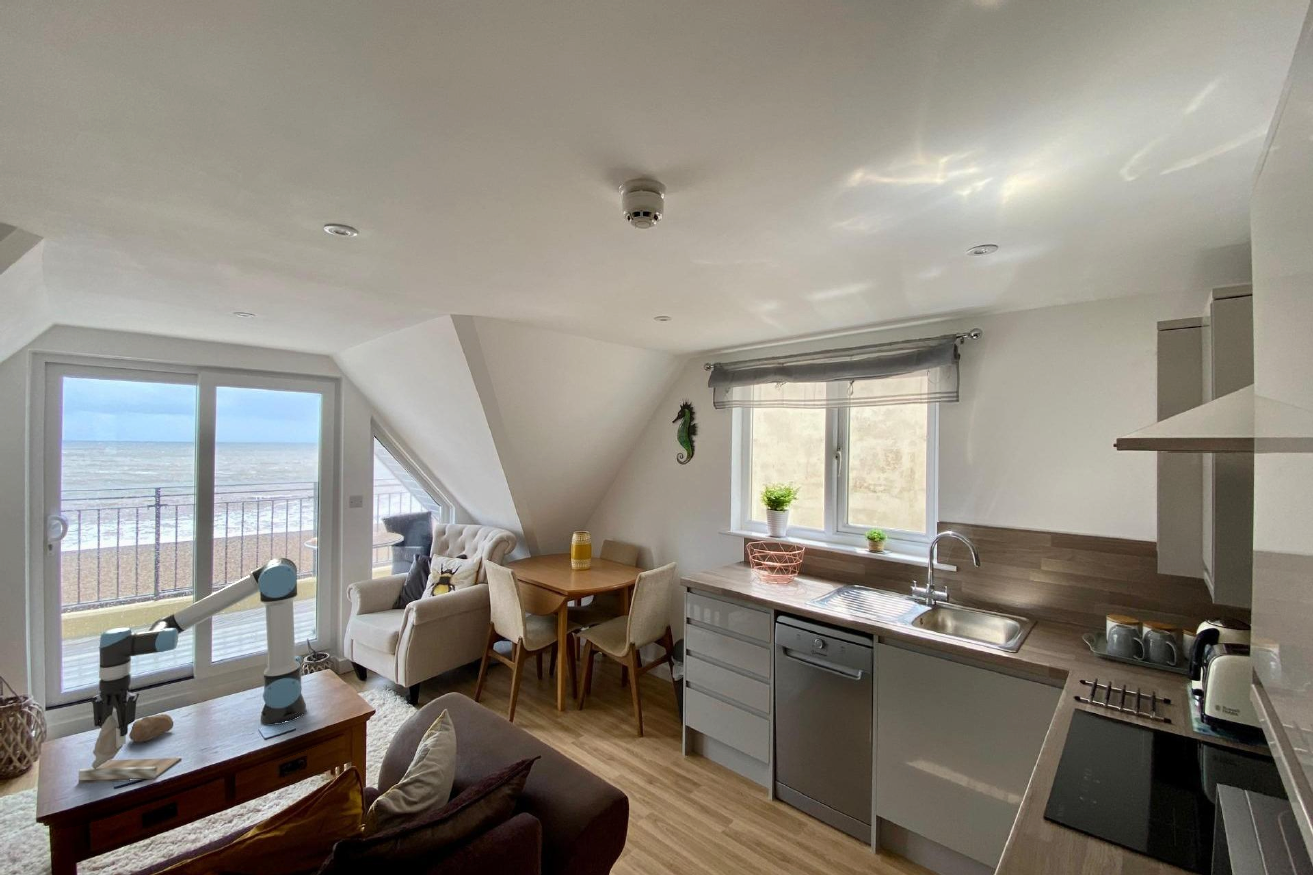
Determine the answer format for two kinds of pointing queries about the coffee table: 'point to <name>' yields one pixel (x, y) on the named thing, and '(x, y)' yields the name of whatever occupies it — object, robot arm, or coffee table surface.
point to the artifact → (106, 742)
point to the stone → (150, 727)
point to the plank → (128, 770)
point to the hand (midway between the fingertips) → (114, 745)
